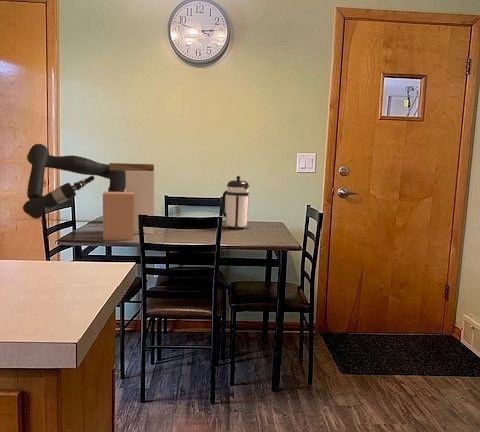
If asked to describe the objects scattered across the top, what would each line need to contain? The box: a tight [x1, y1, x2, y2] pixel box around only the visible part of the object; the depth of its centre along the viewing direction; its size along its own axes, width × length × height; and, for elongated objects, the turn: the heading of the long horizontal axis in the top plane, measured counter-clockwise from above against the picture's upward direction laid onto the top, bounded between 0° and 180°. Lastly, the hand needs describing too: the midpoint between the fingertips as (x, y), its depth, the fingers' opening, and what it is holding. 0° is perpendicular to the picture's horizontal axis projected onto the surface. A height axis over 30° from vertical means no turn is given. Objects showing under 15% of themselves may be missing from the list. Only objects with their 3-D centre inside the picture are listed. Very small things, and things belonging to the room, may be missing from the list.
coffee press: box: [221, 175, 250, 231], centre depth 255 cm, size 17×16×30 cm
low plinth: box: [102, 191, 135, 241], centre depth 215 cm, size 10×14×22 cm
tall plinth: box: [125, 170, 155, 235], centre depth 231 cm, size 10×14×32 cm
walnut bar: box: [108, 162, 155, 172], centre depth 227 cm, size 4×22×4 cm, turn 103°
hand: (93, 177), depth 224 cm, fingers open, 8 cm apart
